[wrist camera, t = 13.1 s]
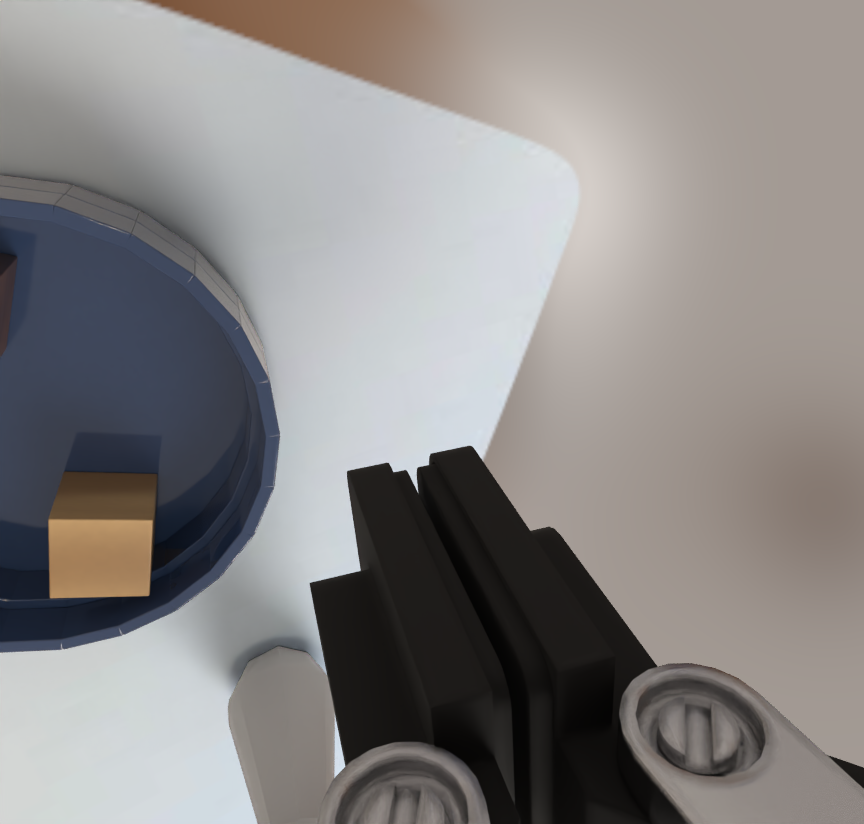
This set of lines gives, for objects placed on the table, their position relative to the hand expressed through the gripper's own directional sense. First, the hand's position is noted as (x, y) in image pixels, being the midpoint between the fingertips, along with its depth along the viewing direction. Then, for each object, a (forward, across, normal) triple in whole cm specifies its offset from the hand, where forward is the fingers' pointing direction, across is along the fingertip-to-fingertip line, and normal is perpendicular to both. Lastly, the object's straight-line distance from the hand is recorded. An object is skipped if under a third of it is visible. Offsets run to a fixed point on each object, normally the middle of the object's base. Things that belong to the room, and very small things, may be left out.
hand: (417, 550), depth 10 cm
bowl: (+25, +11, +7) cm, 28 cm away
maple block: (+24, +10, +13) cm, 29 cm away
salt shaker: (+25, +4, +26) cm, 36 cm away
